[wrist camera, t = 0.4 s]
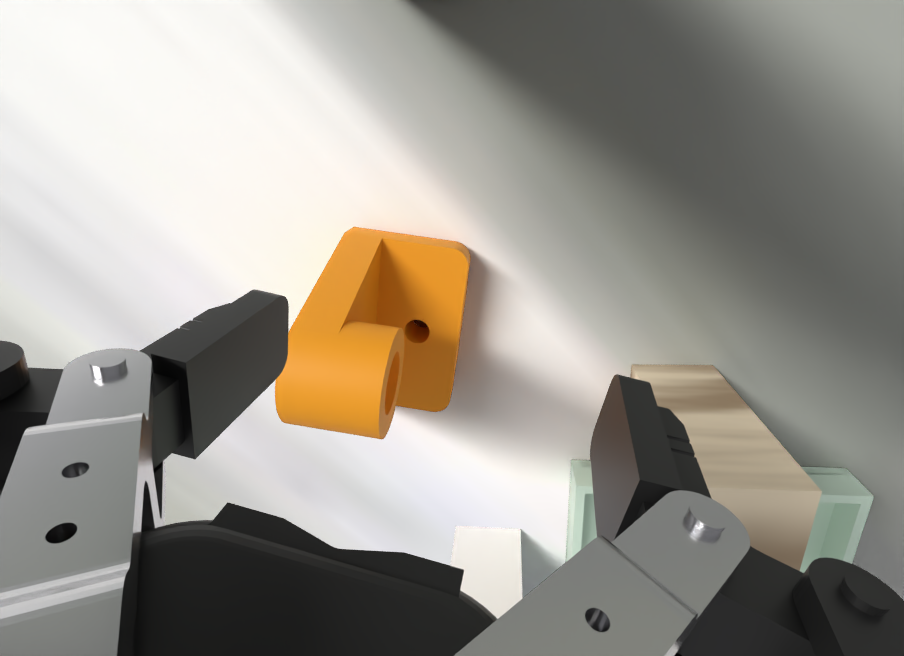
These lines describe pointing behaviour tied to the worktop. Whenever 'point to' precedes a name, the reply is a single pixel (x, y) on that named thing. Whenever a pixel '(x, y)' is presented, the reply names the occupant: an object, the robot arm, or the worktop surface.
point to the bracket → (376, 333)
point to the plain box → (739, 458)
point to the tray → (829, 535)
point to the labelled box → (489, 565)
